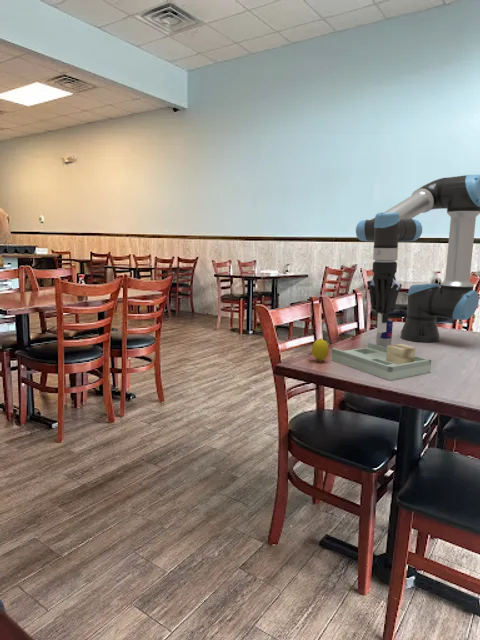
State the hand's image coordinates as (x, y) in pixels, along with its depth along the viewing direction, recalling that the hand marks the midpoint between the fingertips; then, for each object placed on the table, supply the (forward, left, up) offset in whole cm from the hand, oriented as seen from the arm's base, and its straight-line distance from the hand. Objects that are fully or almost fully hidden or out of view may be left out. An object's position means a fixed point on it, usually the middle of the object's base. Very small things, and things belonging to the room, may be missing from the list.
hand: (381, 331), depth 150 cm
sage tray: (+4, +3, -10) cm, 11 cm away
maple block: (+1, +9, -8) cm, 12 cm away
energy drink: (-12, -10, -11) cm, 19 cm away
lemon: (+18, -10, -11) cm, 23 cm away
